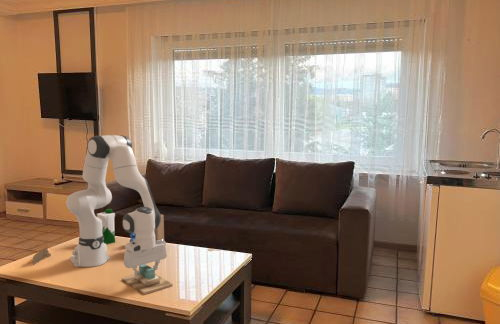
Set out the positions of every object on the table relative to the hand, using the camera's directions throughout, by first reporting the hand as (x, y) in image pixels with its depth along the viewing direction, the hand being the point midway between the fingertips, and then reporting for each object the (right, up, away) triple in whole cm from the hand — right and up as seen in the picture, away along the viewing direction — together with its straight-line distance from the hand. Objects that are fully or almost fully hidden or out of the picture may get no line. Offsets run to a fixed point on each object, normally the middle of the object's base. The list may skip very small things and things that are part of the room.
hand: (146, 272), depth 191 cm
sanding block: (0, -4, 0) cm, 4 cm away
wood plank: (-63, -2, +30) cm, 70 cm away
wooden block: (-8, 0, +47) cm, 48 cm away
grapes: (-20, +1, +56) cm, 60 cm away
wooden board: (0, -5, +1) cm, 5 cm away
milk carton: (-39, +2, +61) cm, 72 cm away
